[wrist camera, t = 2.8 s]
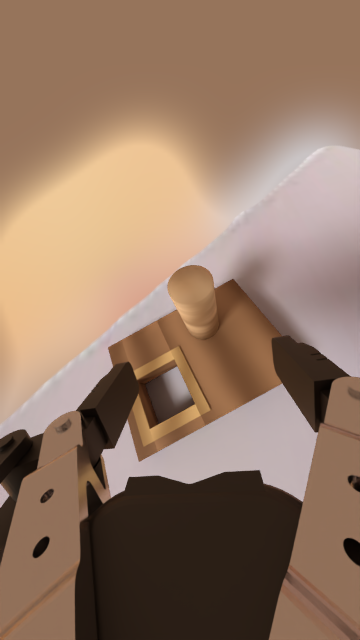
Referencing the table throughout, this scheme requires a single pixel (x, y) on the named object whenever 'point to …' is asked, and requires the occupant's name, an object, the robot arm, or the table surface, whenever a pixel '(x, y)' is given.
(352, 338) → the table surface
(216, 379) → the pin board
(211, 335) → the pin
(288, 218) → the table surface
